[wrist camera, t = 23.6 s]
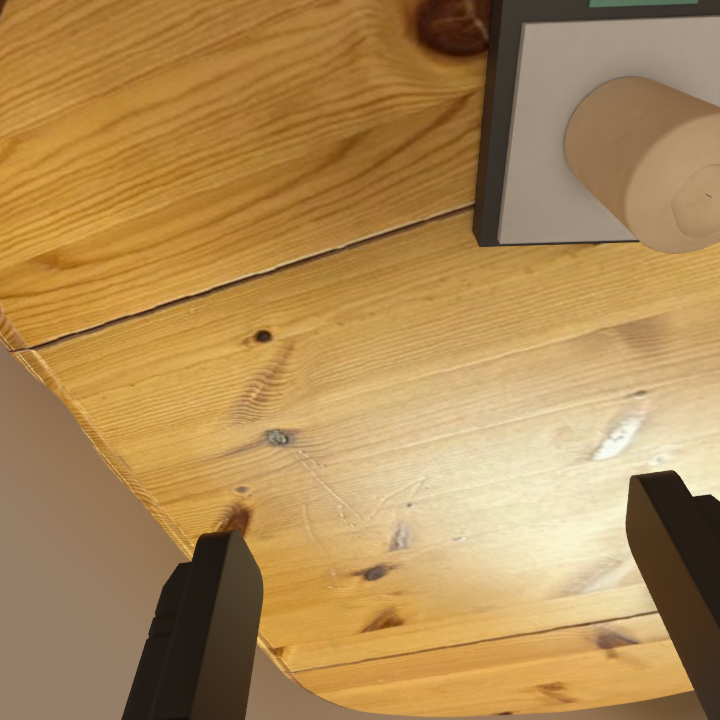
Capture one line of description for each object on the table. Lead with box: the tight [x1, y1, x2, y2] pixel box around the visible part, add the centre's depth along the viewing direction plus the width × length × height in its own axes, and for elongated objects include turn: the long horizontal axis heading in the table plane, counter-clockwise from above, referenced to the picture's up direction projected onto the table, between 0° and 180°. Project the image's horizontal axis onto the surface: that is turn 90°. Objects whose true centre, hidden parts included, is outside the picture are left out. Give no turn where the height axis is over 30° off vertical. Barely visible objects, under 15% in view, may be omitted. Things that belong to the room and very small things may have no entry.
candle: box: [564, 77, 720, 254], centre depth 25 cm, size 6×6×10 cm
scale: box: [473, 0, 720, 247], centre depth 30 cm, size 13×13×3 cm
